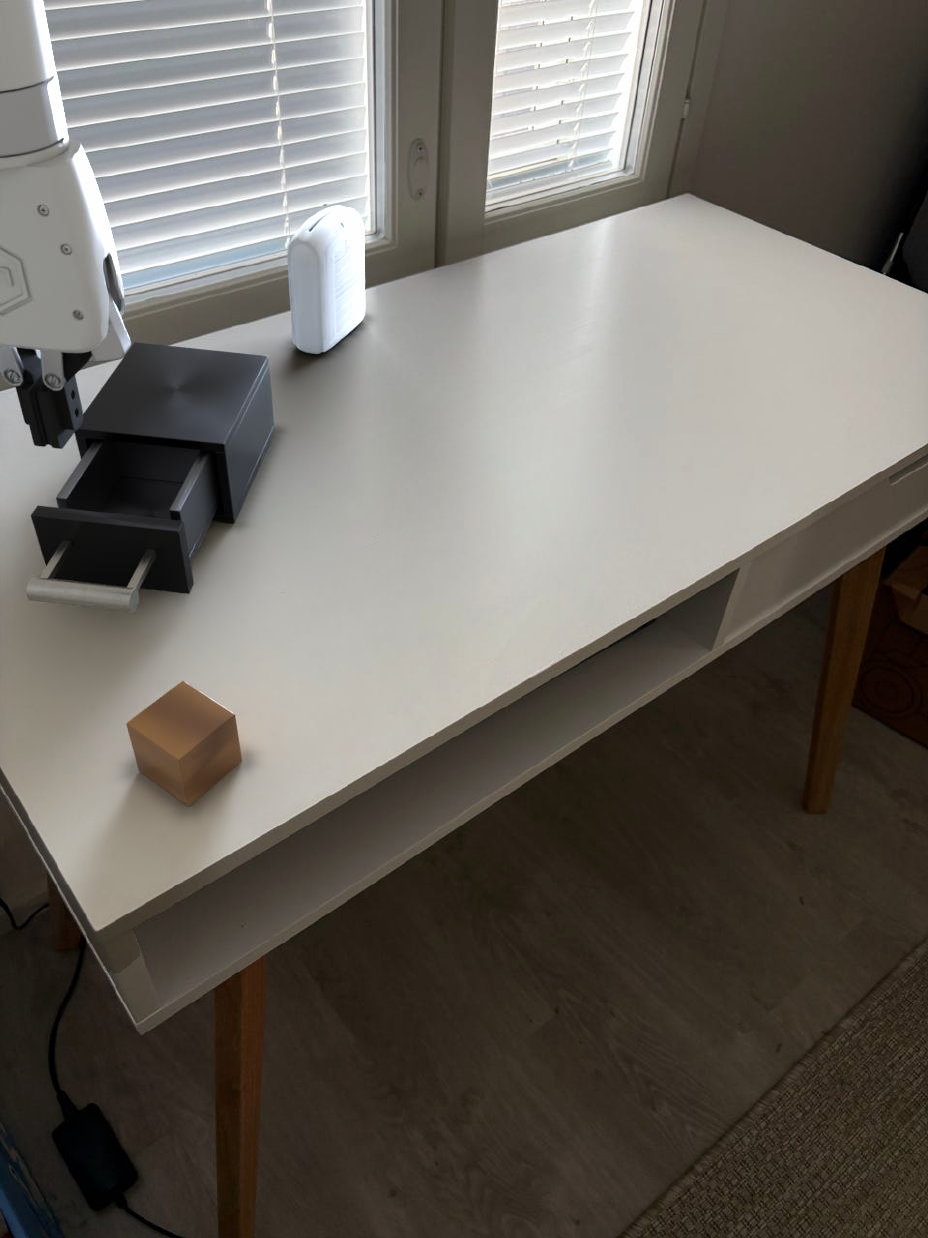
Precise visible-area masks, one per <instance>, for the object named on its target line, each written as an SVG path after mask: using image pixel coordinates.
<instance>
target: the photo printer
mask: <svg viewBox="0 0 928 1238" xmlns="http://www.w3.org/2000/svg"><path fill="white" fill-rule="evenodd" d="M364 225H365V224H364V222H363V219H362V217H361V216H360V214H359V212H358V211H356V209H355V208H352V207H346V206H342V205H333V206H330V207H326V208H324V209H322V210H320V211H318V212H317V213H315V214H314V215H312V216H311V217H309V218H308V219H307V220H306V221H305V222H304V223H303V224H302V225H301V226H300V227H299V228H298V230H297V231H296V232H295V233H294V235H293V236H292V238H291V240H290V242H289V244H288V247H287V251H286V260H287V275H288V293H289V295H288V296H289V308H290V309H289V310H290V323H291V324H290V325H291V339H292V343H293V345H294V346H296V348H297V349H298V350H299V351H301V352H304V353H307V354H315V355H318V354H321V353H325V352H327V351H329V350H330V349H332V348H333V347H334V346H336V345H337V344H338V343H339V342H340V341H341V340H343V339H344V338H345V337H346V336H347V335H348V334H349V333H350V332H352V331H353V330H354V329H355V328H356V327H357V326H358V325H359V324H360V323H361V322H362V321H363V320H364V318H365V315H366V289H365V288H366V275H365V274H366V272H365V271H366V269H365V267H366V266H365V226H364Z"/></svg>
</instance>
